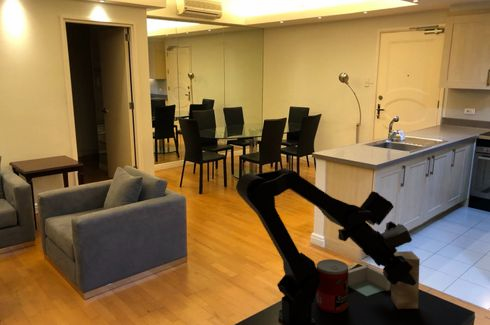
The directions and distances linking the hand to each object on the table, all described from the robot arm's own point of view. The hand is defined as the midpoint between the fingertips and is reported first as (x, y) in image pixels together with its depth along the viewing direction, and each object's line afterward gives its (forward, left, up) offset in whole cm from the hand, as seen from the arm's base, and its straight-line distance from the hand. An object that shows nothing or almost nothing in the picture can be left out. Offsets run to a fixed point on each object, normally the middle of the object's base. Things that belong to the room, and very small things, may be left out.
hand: (410, 279), depth 102 cm
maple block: (-1, +1, -7) cm, 7 cm away
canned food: (-17, +10, -7) cm, 21 cm away
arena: (-5, +12, -7) cm, 15 cm away
